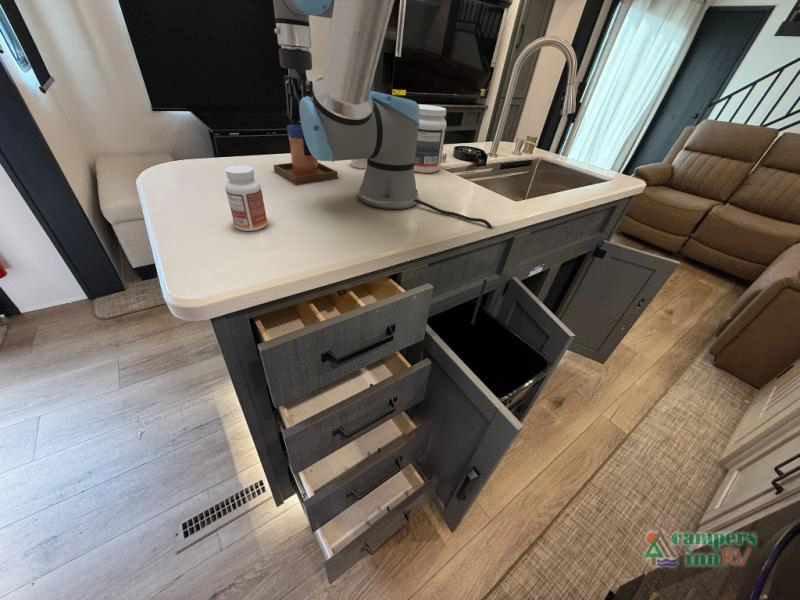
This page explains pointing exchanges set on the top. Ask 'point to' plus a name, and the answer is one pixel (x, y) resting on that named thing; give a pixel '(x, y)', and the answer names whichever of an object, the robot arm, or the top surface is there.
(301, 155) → the jar
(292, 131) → the jar lid
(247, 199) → the pill bottle
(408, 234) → the top surface
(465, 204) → the top surface
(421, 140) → the supplement tub
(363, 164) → the white cup
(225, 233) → the top surface
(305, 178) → the tray
